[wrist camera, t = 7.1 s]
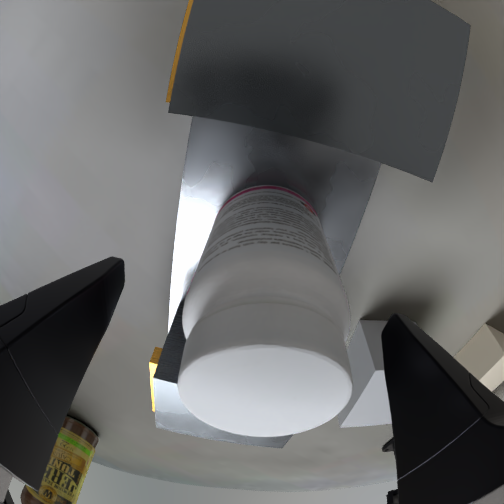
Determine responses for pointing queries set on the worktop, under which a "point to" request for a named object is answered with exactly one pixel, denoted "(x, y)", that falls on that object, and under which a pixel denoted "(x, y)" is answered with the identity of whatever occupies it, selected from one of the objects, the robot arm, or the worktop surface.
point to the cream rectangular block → (484, 356)
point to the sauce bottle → (65, 466)
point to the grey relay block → (367, 378)
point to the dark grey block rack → (300, 127)
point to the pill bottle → (266, 320)
